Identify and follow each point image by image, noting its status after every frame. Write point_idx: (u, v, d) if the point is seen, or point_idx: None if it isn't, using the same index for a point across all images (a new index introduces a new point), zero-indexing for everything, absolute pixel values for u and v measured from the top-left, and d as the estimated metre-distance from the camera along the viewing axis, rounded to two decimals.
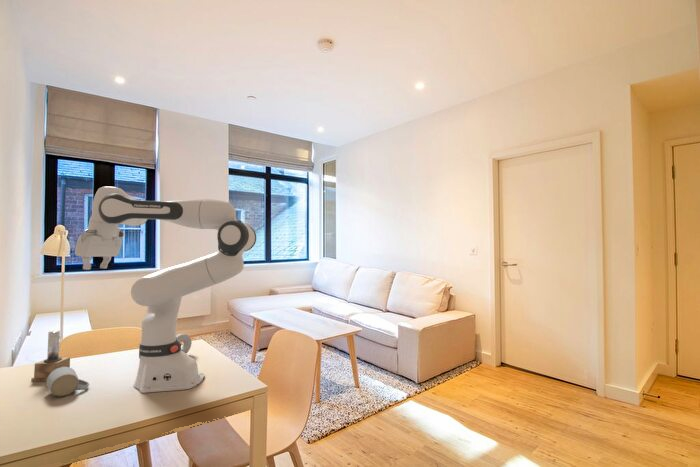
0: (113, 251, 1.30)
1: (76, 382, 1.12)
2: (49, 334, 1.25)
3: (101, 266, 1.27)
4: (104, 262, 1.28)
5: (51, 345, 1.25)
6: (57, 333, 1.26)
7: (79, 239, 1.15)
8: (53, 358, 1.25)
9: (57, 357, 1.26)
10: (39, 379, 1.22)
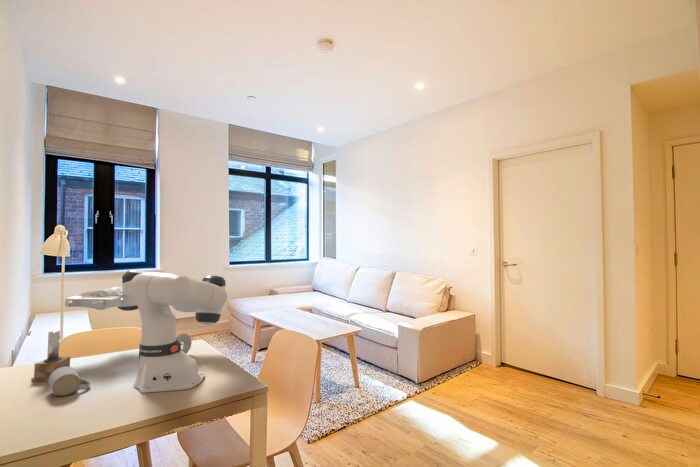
0: (77, 306, 1.45)
1: (78, 382, 1.12)
2: (49, 334, 1.25)
3: (71, 303, 1.40)
4: None
5: (51, 345, 1.25)
6: (57, 333, 1.26)
7: (120, 298, 1.50)
8: (53, 358, 1.25)
9: (57, 357, 1.26)
10: (39, 379, 1.22)
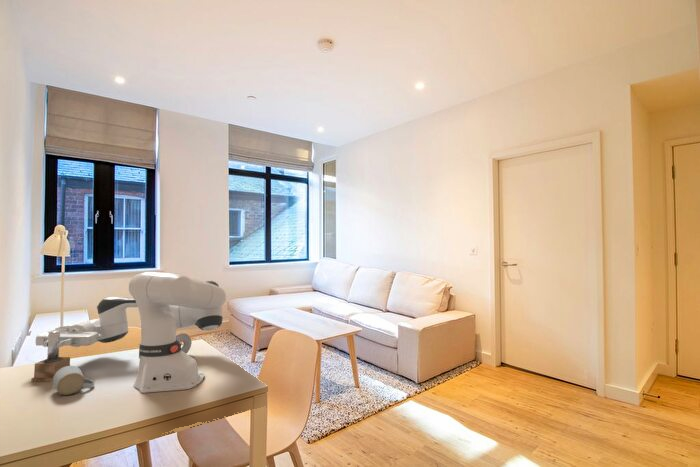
0: None
1: (82, 381, 1.13)
2: (49, 334, 1.25)
3: None
4: None
5: (51, 345, 1.25)
6: (57, 333, 1.26)
7: (97, 334, 1.36)
8: (53, 358, 1.25)
9: (57, 357, 1.26)
10: (39, 379, 1.22)
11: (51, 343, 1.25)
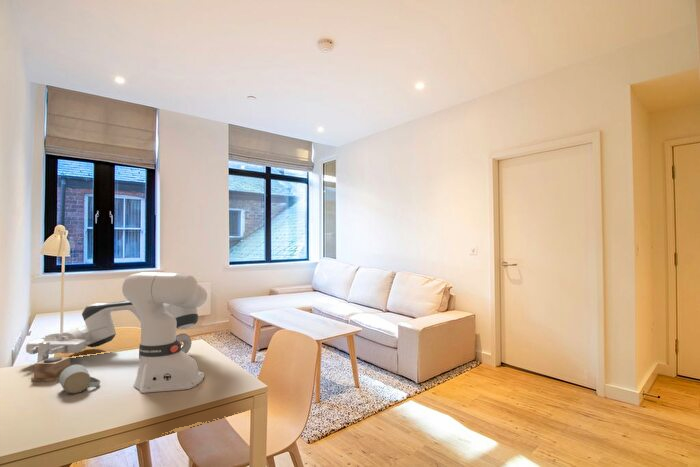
0: None
1: (88, 379, 1.14)
2: (39, 345, 1.32)
3: (34, 350, 1.33)
4: None
5: (41, 356, 1.32)
6: (47, 344, 1.33)
7: (85, 341, 1.43)
8: None
9: None
10: (39, 379, 1.22)
11: (41, 354, 1.32)
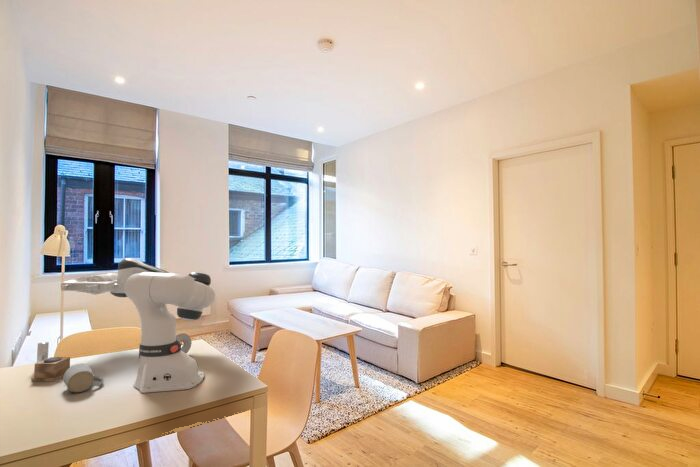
0: None
1: (92, 379, 1.15)
2: (38, 345, 1.32)
3: (66, 287, 1.45)
4: None
5: (40, 356, 1.32)
6: (46, 344, 1.33)
7: (114, 283, 1.55)
8: None
9: None
10: (39, 379, 1.22)
11: (40, 354, 1.32)
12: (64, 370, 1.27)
